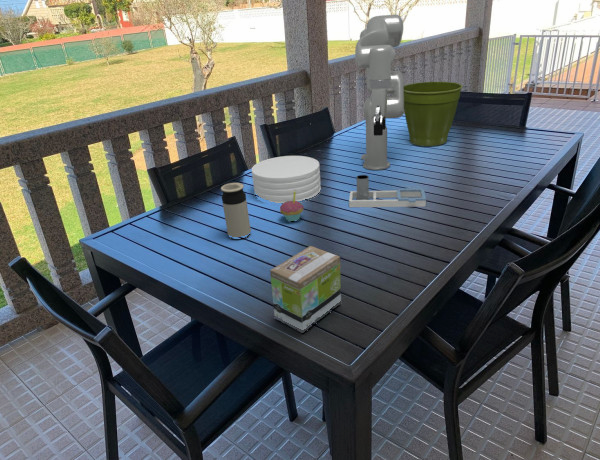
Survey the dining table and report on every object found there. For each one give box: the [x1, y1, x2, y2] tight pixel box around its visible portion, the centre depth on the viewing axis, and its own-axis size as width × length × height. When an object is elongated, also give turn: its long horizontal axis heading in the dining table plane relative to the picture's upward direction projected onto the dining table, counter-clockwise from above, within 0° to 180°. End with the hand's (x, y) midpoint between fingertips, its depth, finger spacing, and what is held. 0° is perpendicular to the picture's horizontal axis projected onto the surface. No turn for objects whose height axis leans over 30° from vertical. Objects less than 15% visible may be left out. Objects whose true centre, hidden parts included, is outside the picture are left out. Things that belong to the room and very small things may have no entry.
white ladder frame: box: [348, 186, 427, 208], centre depth 169 cm, size 13×28×3 cm, turn 81°
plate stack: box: [251, 155, 322, 203], centre depth 185 cm, size 28×28×12 cm
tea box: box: [269, 245, 342, 330], centre depth 108 cm, size 15×10×15 cm
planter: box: [356, 174, 370, 200], centre depth 169 cm, size 4×4×10 cm
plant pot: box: [404, 81, 463, 147], centre depth 229 cm, size 30×30×29 cm
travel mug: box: [220, 182, 252, 237], centre depth 150 cm, size 8×8×18 cm
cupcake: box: [279, 191, 305, 222], centre depth 159 cm, size 9×8×12 cm
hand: (379, 132), depth 164 cm, fingers open, 9 cm apart
